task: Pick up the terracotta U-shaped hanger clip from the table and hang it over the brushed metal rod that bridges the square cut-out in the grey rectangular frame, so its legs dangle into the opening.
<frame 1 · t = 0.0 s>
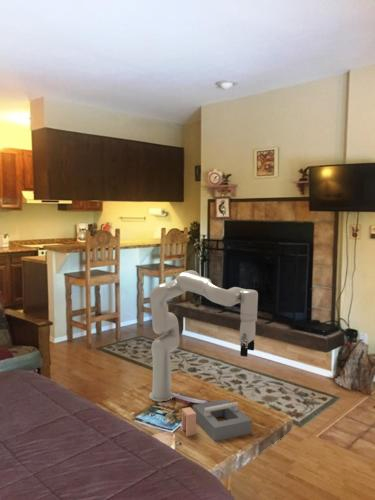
hand: (247, 352, 197), 31 cm above the table, tool pointing down, fingers open, 9 cm apart
grey rectangular frame: (220, 425, 192), on the table
clip: (188, 431, 186), on the table
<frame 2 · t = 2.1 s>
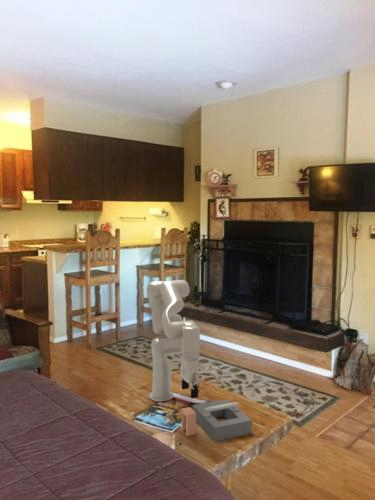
hand: (189, 393, 183), 18 cm above the table, tool pointing down, fingers open, 9 cm apart
nothing on the table moved.
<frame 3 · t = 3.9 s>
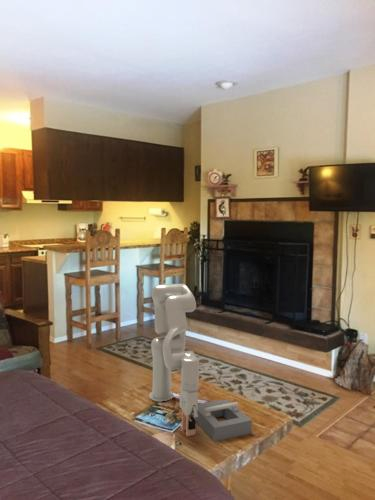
hand: (188, 424, 185), 3 cm above the table, tool pointing down, fingers closed on clip, 6 cm apart
clip: (188, 431, 186), on the table, touching gripper
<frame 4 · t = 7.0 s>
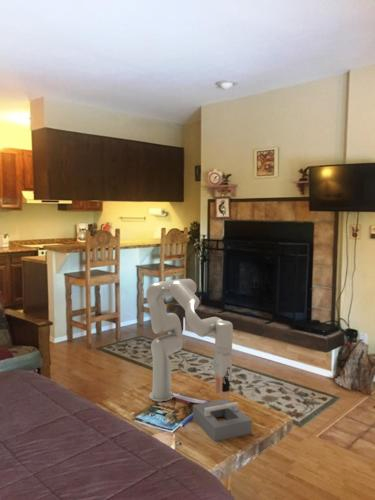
hand: (222, 387, 190), 17 cm above the table, tool pointing down, fingers closed on clip, 6 cm apart
clip: (221, 394, 190), point 14 cm above the table, touching gripper
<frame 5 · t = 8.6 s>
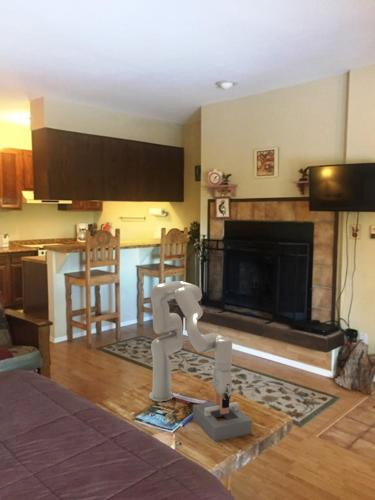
hand: (221, 403, 191), 10 cm above the table, tool pointing down, fingers closed on clip, 6 cm apart
clip: (221, 410, 191), point 7 cm above the table, touching gripper
when the fingers open (6 cm above the table, at t = 10.1 s): clip drops 1 cm, resting on grey rectangular frame.
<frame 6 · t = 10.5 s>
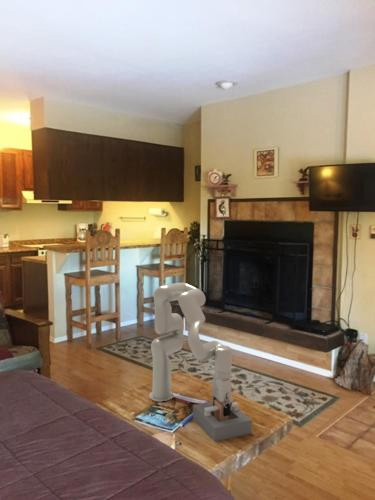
hand: (221, 410, 191), 7 cm above the table, tool pointing down, fingers open, 9 cm apart
clip: (221, 422, 192), point 1 cm above the table, touching grey rectangular frame
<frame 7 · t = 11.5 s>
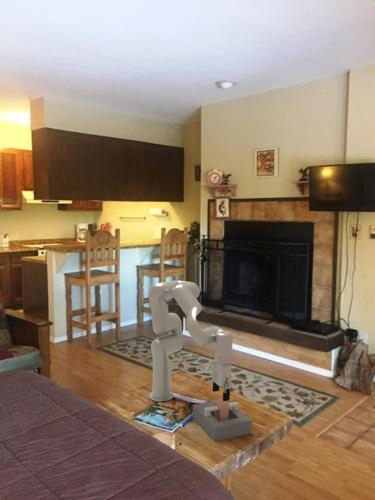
hand: (220, 395, 191), 14 cm above the table, tool pointing down, fingers open, 9 cm apart
nothing on the table moved.
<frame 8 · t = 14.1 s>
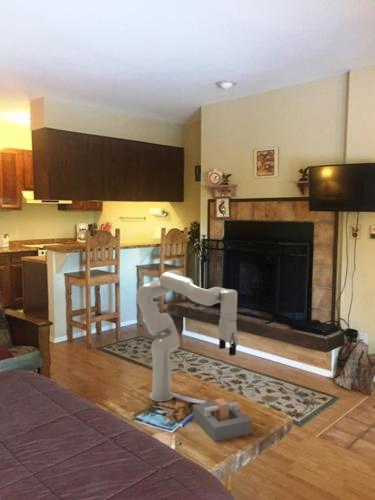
hand: (227, 351, 200), 30 cm above the table, tool pointing down, fingers open, 9 cm apart
nothing on the table moved.
at the end: clip 0.2 cm off-centre on the grey rectangular frame, point 1.5 cm above the grey rectangular frame's base; clip touching grey rectangular frame; the gripper is holding nothing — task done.
